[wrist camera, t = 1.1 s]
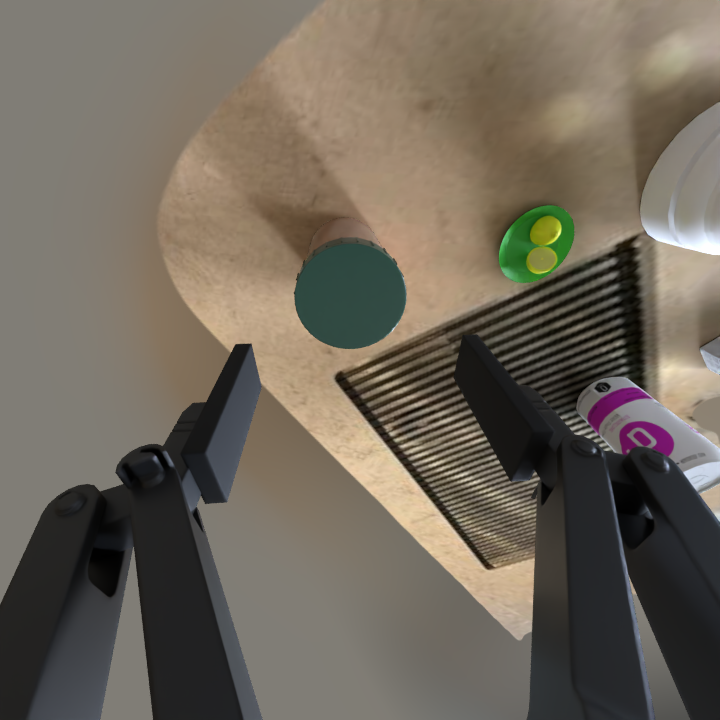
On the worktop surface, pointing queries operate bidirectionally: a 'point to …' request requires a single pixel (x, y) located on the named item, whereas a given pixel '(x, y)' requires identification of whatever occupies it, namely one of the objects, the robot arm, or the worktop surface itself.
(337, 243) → the jar lid
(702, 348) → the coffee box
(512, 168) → the worktop surface
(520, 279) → the lemons on plate
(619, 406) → the supplement can
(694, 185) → the honey pot
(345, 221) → the jam jar
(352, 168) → the worktop surface
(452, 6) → the worktop surface
